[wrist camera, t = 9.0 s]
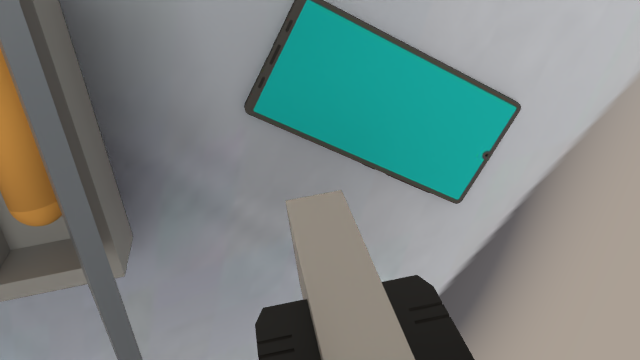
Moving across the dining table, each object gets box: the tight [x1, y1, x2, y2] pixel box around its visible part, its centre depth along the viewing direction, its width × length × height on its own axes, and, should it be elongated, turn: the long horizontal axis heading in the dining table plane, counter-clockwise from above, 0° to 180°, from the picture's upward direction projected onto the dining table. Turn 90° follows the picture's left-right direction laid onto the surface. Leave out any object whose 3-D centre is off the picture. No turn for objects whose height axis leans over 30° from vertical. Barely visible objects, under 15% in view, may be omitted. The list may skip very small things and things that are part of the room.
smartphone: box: [244, 0, 521, 204], centre depth 35 cm, size 7×1×15 cm
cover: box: [0, 0, 142, 360], centre depth 24 cm, size 10×14×1 cm
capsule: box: [0, 48, 62, 226], centre depth 30 cm, size 3×12×3 cm, turn 7°
